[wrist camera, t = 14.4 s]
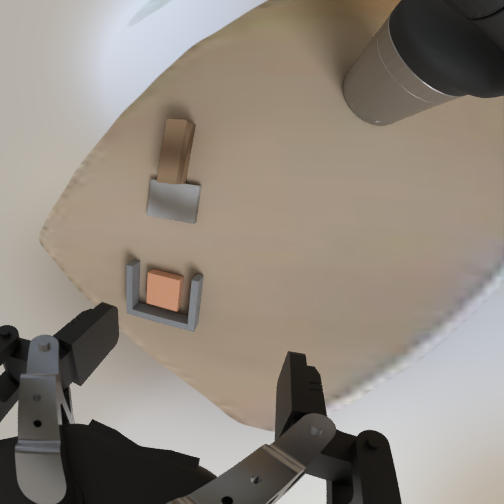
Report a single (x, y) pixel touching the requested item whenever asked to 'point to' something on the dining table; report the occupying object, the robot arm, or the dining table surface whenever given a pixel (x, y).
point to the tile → (164, 289)
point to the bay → (160, 314)
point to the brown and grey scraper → (175, 176)
